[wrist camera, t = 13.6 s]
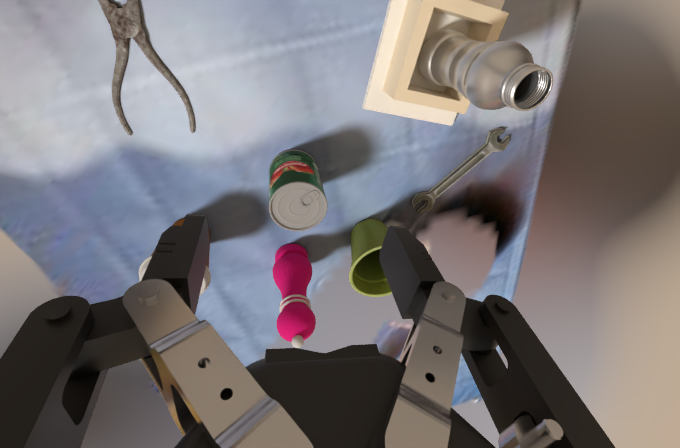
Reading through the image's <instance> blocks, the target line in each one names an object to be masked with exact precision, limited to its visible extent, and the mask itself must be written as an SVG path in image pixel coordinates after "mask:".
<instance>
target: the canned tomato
mask: <svg viewBox="0 0 680 448" xmlns="http://www.w3.org/2000/svg"><path fill="white" fill-rule="evenodd" d="M269 174H270V177H269V212H270V215H271V217H272V219H273V220H274V222H275V223H276V224H278V225H279V226H280V227H282V228H284V229H287V230H291V231H304V230H308V229H311V228H313V227H315V226H316V225H317V224H319V223H320V222H321V221H322V220H323V218H324V217H325V214H326V212H327V200H326V197H325V193H324V189H323V186H322V182H321V178H320V175H319V171H318V167H317V163H316V162H315V160H314V159H313V158H312V156H311V155H309V154H308V153H306V152H304V151H301V150H295V149H292V150H286V151H283V152H281V153H279V154H278V155H277V156H276V157H275V158H274V159H273V160H272V162H271V165H270V169H269Z"/></svg>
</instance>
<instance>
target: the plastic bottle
mask: <svg viewBox="0 0 680 448" xmlns="http://www.w3.org/2000/svg"><path fill="white" fill-rule="evenodd" d="M418 65H419V70H420V72H421V74H422V75H423V77H424V78H425V79H426V80H427V81H428V82H430V83H432V84H435V85H440V86H448V87H451V88H454V89H455V90H457V91H458V92H460V93H461V94H462V95H463V96H464V97H465V98H467V99H468V100H469V101H470V102H471V103H472V104H473V105H475V106H476V107H478V108H481V109H487V110H495V109H501V108H503V107H506V106H508V107H511V108H515V109H517V110H520V111H528V110H531V109H534V108H535V107H537V106H538V105H540V104H541V103H542V102H543V101H544V100H545V99H546V98H547V96H548V95H549V93H550V91H551V89H552V85H553V76H552V74H551V72H550V71H549V70H548V69H546V68H543V67H540V66H539V65H537V64H534V62H533V58H532V55H531V53H530V52H529V50H528V49H527V48H525V47H524V46H523V45H522V44H520V43H518V42H515V41H492V42H483V41H476V40H473V39H471V38H469V37H468V36H466V35H465V34H463V33H461V32H459V31H457V30H445V31H440V32H438V33H435V34H434V35H432V36H431V37H430V38H429V39H428V40H427V41H426V42H425V43H424V45H423V47H422V48H421V51H420V54H419V58H418Z"/></svg>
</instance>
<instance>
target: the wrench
mask: <svg viewBox="0 0 680 448" xmlns="http://www.w3.org/2000/svg"><path fill="white" fill-rule="evenodd" d="M504 131H506V130H505V129H502V128H495V129H493V130H491V131H489V133H488V136H487V139H486V142H485V144H483V145H482V146H481V147H480V148H479V149H478V150H476V151H475V152H474V153H473V154H472V155H470V156H469V157H468V158H467V159H466V160H465V161H463V162H462V163H461V164H460V165H459V166H457V167H456V168H455V169H454V170H453V171H451V172H450V173H449V174H448V175H447V176H446V177H444V178H443V179H442V180H441V181H440V182H438V183H437V184H436V185H435V186H434V187H433V188H431V189H430V190H429V191H427V192H420V193H416V195H415V196H414V198H413V199H412V207H413V208H414V207H415V206H416V205H417V204H418V203H420V202H421V201H425V204H424V205H423V206H422V207H420V208H419V209H418V210H417V212H418V213H425V212H427V211H429V210H431V209H432V208H433V205H434V202H435V199H436V198H437V197H439V196H440V195H441V194H442V193H443V192H445V191H446V190H447V189H448V188H449V187H451V186H452V185H453V184H454V183H456V182H457V181H458V180H459V179H460V178H462V177H463V176H464V175H465V174H466V173H468V172H469V171H470V170H471V169H472V168H474V167H475V166H476V165H477V164H478V163H480V162H481V161H482V160H483V159H485V158H486V157H487V156H488V155H489V154H491V153H492V152H497V151H504V149H505V148H506V147H507V145H508V144H509V140H510V136H508V135H507V136H505V137H504V138H503V139H502V140H501V141H500V142H498V136H499V135H501V134H502V133H503V132H504Z"/></svg>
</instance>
